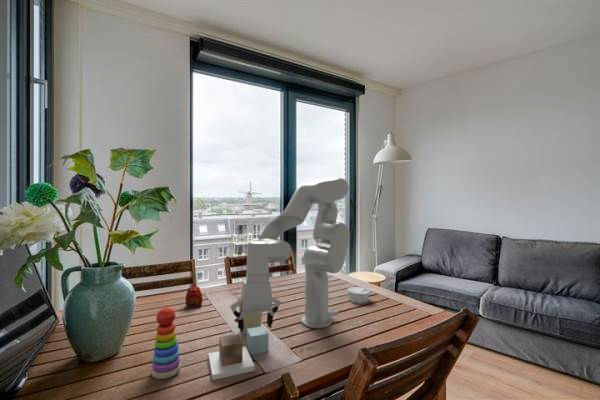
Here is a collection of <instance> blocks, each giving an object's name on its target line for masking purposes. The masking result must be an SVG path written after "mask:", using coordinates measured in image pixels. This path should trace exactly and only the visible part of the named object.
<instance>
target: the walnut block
mask: <svg viewBox="0 0 600 400" xmlns="http://www.w3.org/2000/svg"><path fill="white" fill-rule="evenodd" d="M243 343H244V342H243V340H242V338H241V335H240V334H239V333H235V334H230V335H225V336H219V345H218V347H219V350H218V351H219V357H220V361H221V364H222V367H223V366H228V365H232V364H237V363H241V362H242V354H243V347H244V346H243V345H244V344H243Z"/></svg>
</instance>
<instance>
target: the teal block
mask: <svg viewBox="0 0 600 400" xmlns="http://www.w3.org/2000/svg"><path fill="white" fill-rule="evenodd" d="M246 348H247V350H248V352H249V355H255V354H261V353H265V352H268V351H269V332H268V331H267V329H266V327H265V326H264V325H261V327H255V328H249V329H247V335H246Z"/></svg>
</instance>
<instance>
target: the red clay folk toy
mask: <svg viewBox="0 0 600 400" xmlns="http://www.w3.org/2000/svg"><path fill="white" fill-rule="evenodd" d="M195 276H196V275H195V274H193V275H192V276H189V279H192V278H193V285H192V287H188V289H187V292H186V295H185V305H186V306H185V307H186V308H189V309H190V308H195V309H196V308H199V307H201V306H202V304H203V302H204V301H203V293H202V291H201V289H200V286H196V280H195V279H196V278H195Z"/></svg>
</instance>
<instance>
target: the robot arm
mask: <svg viewBox="0 0 600 400" xmlns="http://www.w3.org/2000/svg"><path fill="white" fill-rule="evenodd" d="M349 188H350V187H349V183H348V181H347V180H346V179H344V178H341V177H332V178H331V177H330V178H319V179H316V180H314V181H307V182H301V183H300V184H299V185H298V186H297V187H296V189H295V191H294V193H293V194H292V196H291V198H290V199H289V202H288V204H287V205H286V206H285V208H284V210H283V211H282V213H280V214H278V215H277V216H276V217H275V218H274V219H272V220H271V221H270V222H269V223H268V224H267V225H266V226H265V228H264V229H263V231H262V233H261V234H260V236H259V238H258V240H252V241H251V240H250V241H249V242H248V244H247V249H246V251H247V252H246V253H247V254H246V275H245V276H246V277H245V278H246V279H245V280H244V281H243V283H242V287H241V292H240V293H241V294H240V298H241V300H240V299H239V300H237V301H236V302H234V303H232V304H231V305H230V306H229V307H230V310H231V311H232V313H233V315H234V316H235V317H236V318H237V329H239V330H240V333H242V332H243V327H244V320H243V317H244V316H245V314H246V313H256V312H262V313H264V312H267V314H266V326H267V327H268V328H269V329H272V325H273V324H274V315H275V314H276V313H277V311H278V310H279V307H280V305H281V304H282V302H281V300H279V299H277V298H276V297H273V296H272V285H271V281H270V278H273V276H274V275H273V273H270V271H269V270H270V262H272V263H273V262H277V263H281V262H285V261H287V260H289V258H290V257H291V255H292V252H293V250H292V246H291V244H290V243H289V242H287V241H285V240H282V239H278V238H279V237H281V236H282V234H284V232H287V231H288V230H291V229H293V228H295V227H298V226H300V225H302V224H303V223H304V222H305V221H306V220H305V219H306V218H307V217H308V214H309V212H310V210H311V208H312V206H313V205H315V204H317V214H316V218H315V221H314V227H313V231H312V237H313V240H314V241H315V242H317V243H319V244H320V243H321V244H324V245H329V247H327V246H323V245H310V246H308V247H307V248H306V249H305V251H304V252H303V256H302V257H303V259H302V260H303V265H304V266H303V267H304V271H305V287H304V288H305V292H304V293H305V294H304V295H305V297H304V301H305V302H304V306H305V307H304V315H303V316H301V320H300V321H301V324H302V325H303V326H306V327H308V328H311V329H324V328H328V327H330V326H331V325H332V322H333V320H332V317H336V316H339V311H338V310H334V311H333V309H329V281H330V280H329V275H328V273H330V274H337V273H339V272H341V271H342V269H343V267H344V266H345V265H344V264H345V261H346V257H347V251H348V247H349V242H350V235H351V234H350V229H349V227H348V226H347V225H346V224H345V223H344V222H341V221H337V220H338V219H337V218H338V212H339V211H338V206H337V204H336V201H340V200H343V199H344V198H346V197H347V196H348V194H349V190H350V189H349ZM273 303H274V306H273V307H272V305H273ZM239 306H240V307H241V310H240V312H239V310H237V308H239Z"/></svg>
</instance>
